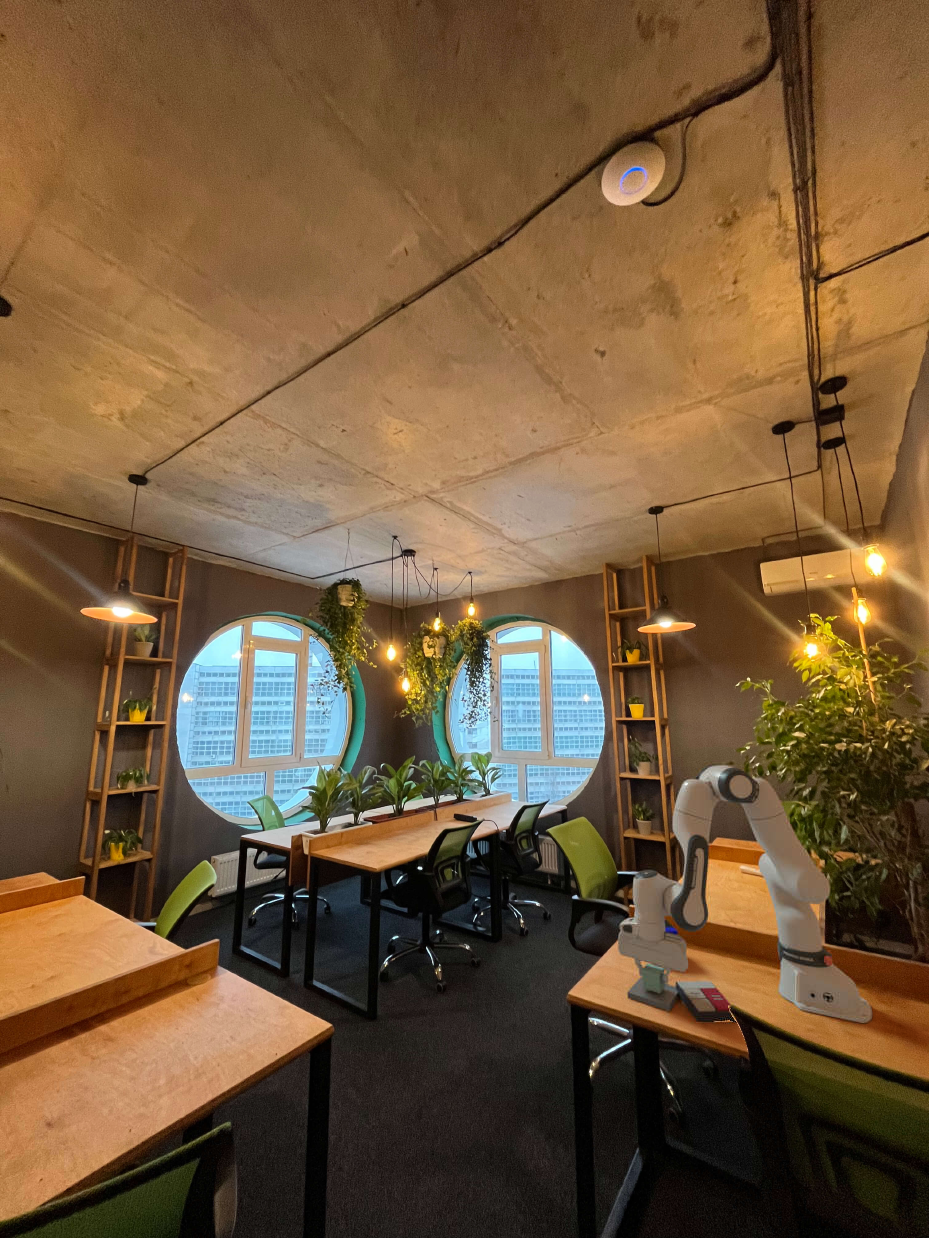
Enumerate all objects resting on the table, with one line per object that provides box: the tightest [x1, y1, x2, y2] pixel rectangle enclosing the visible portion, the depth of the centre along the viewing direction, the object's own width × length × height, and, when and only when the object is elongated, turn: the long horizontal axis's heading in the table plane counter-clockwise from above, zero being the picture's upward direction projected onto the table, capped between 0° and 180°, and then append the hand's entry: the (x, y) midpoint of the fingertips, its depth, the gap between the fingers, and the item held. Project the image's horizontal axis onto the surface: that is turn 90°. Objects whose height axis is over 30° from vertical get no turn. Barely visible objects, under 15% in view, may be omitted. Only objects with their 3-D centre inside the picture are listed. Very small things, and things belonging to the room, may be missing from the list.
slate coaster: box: [627, 976, 679, 1012], centre depth 152 cm, size 12×12×2 cm
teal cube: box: [642, 962, 666, 993], centre depth 153 cm, size 5×5×5 cm
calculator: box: [675, 980, 737, 1023], centre depth 146 cm, size 11×4×15 cm
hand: (653, 978), depth 153 cm, fingers open, 5 cm apart
